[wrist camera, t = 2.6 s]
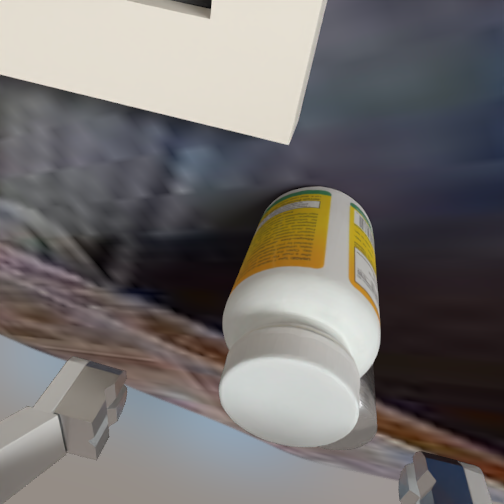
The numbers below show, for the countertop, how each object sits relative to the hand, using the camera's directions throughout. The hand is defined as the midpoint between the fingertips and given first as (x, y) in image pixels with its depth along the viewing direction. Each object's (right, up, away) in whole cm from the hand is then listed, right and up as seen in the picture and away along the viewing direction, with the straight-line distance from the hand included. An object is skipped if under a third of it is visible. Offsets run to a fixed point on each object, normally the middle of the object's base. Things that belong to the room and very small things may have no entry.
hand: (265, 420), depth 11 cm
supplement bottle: (+3, +6, +8) cm, 10 cm away
